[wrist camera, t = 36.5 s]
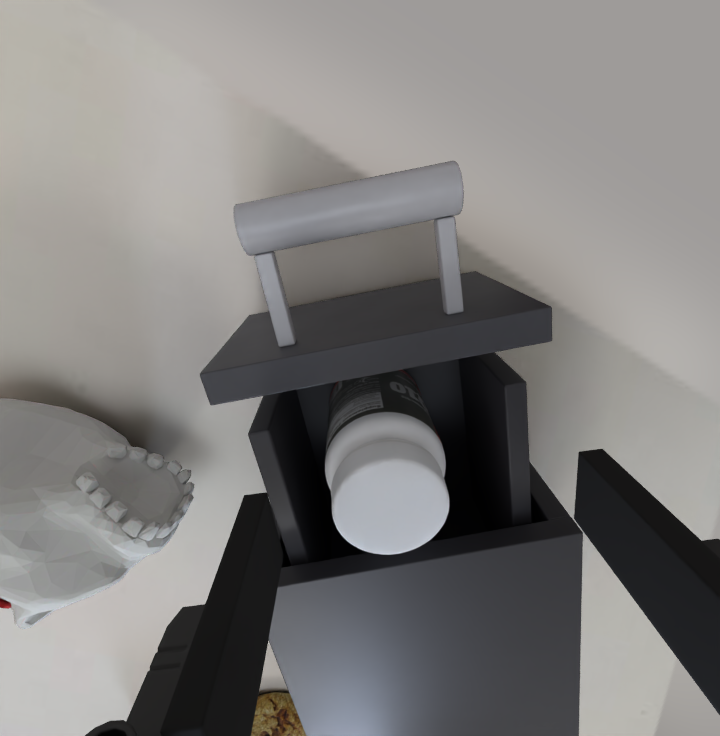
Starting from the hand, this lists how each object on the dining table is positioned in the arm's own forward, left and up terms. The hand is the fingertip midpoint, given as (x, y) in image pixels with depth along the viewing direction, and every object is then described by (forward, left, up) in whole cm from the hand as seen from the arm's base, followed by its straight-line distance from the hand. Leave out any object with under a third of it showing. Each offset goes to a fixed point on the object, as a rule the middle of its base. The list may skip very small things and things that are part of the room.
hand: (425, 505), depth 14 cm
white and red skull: (+18, +7, -11) cm, 22 cm away
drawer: (+1, -1, -10) cm, 10 cm away
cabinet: (-3, +10, -10) cm, 15 cm away
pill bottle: (+1, 0, -9) cm, 9 cm away
